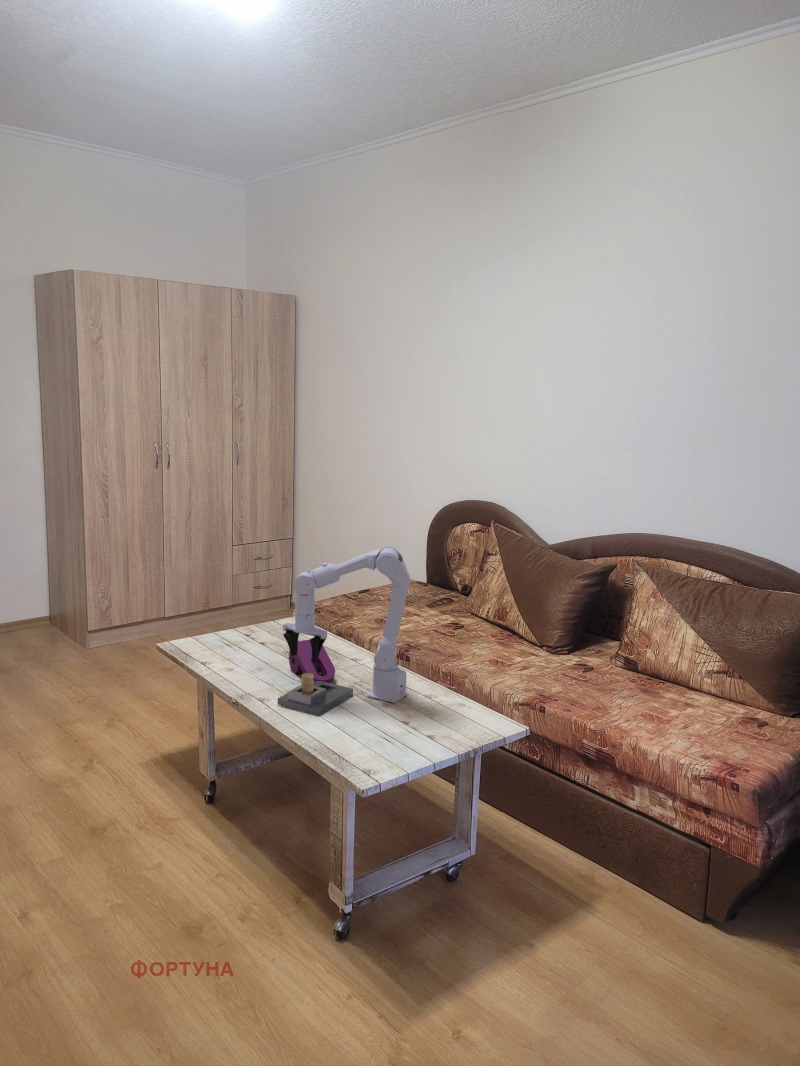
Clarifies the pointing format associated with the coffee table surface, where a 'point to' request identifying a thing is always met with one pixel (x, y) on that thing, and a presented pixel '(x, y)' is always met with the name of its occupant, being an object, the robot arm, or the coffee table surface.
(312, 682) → the pin
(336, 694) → the mount plate
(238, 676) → the coffee table surface
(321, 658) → the mounting bracket
